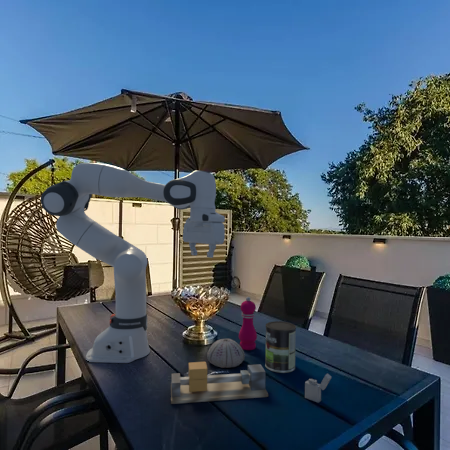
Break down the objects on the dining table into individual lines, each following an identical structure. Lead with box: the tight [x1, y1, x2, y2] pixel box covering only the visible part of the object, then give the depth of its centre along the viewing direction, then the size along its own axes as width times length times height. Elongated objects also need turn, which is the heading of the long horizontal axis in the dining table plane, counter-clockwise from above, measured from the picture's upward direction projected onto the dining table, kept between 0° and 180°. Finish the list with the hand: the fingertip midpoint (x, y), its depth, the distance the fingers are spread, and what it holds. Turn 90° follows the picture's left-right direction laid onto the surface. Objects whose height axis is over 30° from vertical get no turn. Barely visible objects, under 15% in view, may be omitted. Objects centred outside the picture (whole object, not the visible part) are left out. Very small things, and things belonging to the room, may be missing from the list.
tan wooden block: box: [188, 361, 208, 392], centre depth 95 cm, size 5×5×6 cm
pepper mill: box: [238, 296, 258, 351], centre depth 131 cm, size 7×7×20 cm
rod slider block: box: [170, 363, 269, 405], centre depth 96 cm, size 27×10×6 cm, turn 99°
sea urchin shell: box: [206, 338, 246, 369], centre depth 116 cm, size 13×14×8 cm
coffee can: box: [264, 320, 297, 374], centre depth 113 cm, size 10×10×14 cm
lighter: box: [304, 373, 332, 404], centre depth 91 cm, size 7×2×8 cm, turn 51°
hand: (201, 256), depth 116 cm, fingers open, 8 cm apart
